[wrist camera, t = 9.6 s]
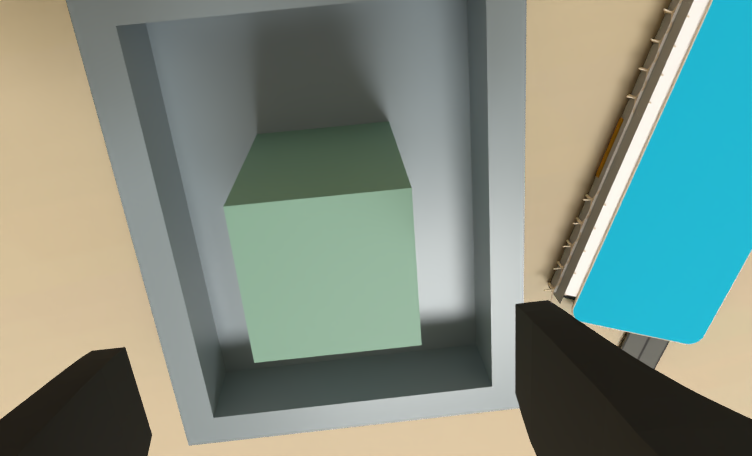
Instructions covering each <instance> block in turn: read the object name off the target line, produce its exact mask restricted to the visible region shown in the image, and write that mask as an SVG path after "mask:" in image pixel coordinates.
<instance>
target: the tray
mask: <svg viewBox="0 0 752 456" xmlns="http://www.w3.org/2000/svg"><path fill="white" fill-rule="evenodd" d="M66 3H67V6H68V10H69V14H70V17H71V21H72V24H73V28H74V32H75V35H76V39H77V42H78V46H79V50H80V53H81V57H82V61H83V64H84V68H85V71H86V75H87V79H88V82H89V86H90V89H91V93H92V97H93V100H94V104H95V108H96V111H97V115H98V118H99V122H100V126H101V129H102V133H103V137H104V140H105V144H106V147H107V151H108V155H109V158H110V162H111V165H112V169H113V173H114V176H115V180H116V184H117V187H118V191H119V194H120V198H121V202H122V205H123V209H124V213H125V216H126V220H127V223H128V227H129V231H130V234H131V238H132V241H133V245H134V249H135V252H136V256H137V260H138V263H139V267H140V270H141V274H142V278H143V281H144V285H145V288H146V292H147V296H148V299H149V303H150V307H151V310H152V314H153V317H154V321H155V325H156V328H157V332H158V336H159V339H160V343H161V346H162V350H163V354H164V357H165V361H166V364H167V368H168V372H169V375H170V379H171V383H172V386H173V390H174V393H175V397H176V401H177V404H178V408H179V412H180V415H181V419H182V422H183V426H184V430H185V433H186V437H187V440H188V444H189V445H198V444H207V443H216V442H225V441H234V440H242V439H251V438H260V437H269V436H278V435H287V434H295V433H304V432H313V431H322V430H331V429H340V428H348V427H357V426H366V425H375V424H384V423H393V422H401V421H410V420H419V419H428V418H437V417H446V416H454V415H463V414H472V413H481V412H490V411H499V410H507V409H516V408H520V407H519V404H518V401H517V397H516V394H515V304H519V303H524V205H525V101H526V0H66ZM387 121H389V123H390V126H391V129H392V132H393V135H394V138H395V140H396V143H397V146H398V149H399V152H400V155H401V158H402V161H403V164H404V167H405V170H406V173H407V176H408V178H409V181H410V184H411V187H412V200H413V216H414V232H415V248H416V264H417V280H418V295H419V311H420V327H421V343H422V345H419V346H409V347H400V348H391V349H381V350H372V351H362V352H353V353H343V354H334V355H324V356H315V357H305V358H296V359H286V360H277V361H267V362H258V363H254V359H253V354H252V349H251V344H250V339H249V334H248V329H247V324H246V319H245V314H244V309H243V304H242V299H241V294H240V289H239V283H238V278H237V273H236V268H235V263H234V258H233V253H232V248H231V243H230V238H229V233H228V228H227V223H226V218H225V213H224V208H223V206H224V204H225V202H226V200H227V198H228V195H229V193H230V191H231V189H232V187H233V185H234V182H235V180H236V178H237V176H238V174H239V172H240V170H241V167H242V165H243V163H244V161H245V159H246V157H247V155H248V152H249V150H250V148H251V146H252V144H253V142H254V139H255V137H256V135H257V134H263V133H274V132H284V131H294V130H305V129H315V128H325V127H336V126H346V125H356V124H367V123H377V122H387Z"/></svg>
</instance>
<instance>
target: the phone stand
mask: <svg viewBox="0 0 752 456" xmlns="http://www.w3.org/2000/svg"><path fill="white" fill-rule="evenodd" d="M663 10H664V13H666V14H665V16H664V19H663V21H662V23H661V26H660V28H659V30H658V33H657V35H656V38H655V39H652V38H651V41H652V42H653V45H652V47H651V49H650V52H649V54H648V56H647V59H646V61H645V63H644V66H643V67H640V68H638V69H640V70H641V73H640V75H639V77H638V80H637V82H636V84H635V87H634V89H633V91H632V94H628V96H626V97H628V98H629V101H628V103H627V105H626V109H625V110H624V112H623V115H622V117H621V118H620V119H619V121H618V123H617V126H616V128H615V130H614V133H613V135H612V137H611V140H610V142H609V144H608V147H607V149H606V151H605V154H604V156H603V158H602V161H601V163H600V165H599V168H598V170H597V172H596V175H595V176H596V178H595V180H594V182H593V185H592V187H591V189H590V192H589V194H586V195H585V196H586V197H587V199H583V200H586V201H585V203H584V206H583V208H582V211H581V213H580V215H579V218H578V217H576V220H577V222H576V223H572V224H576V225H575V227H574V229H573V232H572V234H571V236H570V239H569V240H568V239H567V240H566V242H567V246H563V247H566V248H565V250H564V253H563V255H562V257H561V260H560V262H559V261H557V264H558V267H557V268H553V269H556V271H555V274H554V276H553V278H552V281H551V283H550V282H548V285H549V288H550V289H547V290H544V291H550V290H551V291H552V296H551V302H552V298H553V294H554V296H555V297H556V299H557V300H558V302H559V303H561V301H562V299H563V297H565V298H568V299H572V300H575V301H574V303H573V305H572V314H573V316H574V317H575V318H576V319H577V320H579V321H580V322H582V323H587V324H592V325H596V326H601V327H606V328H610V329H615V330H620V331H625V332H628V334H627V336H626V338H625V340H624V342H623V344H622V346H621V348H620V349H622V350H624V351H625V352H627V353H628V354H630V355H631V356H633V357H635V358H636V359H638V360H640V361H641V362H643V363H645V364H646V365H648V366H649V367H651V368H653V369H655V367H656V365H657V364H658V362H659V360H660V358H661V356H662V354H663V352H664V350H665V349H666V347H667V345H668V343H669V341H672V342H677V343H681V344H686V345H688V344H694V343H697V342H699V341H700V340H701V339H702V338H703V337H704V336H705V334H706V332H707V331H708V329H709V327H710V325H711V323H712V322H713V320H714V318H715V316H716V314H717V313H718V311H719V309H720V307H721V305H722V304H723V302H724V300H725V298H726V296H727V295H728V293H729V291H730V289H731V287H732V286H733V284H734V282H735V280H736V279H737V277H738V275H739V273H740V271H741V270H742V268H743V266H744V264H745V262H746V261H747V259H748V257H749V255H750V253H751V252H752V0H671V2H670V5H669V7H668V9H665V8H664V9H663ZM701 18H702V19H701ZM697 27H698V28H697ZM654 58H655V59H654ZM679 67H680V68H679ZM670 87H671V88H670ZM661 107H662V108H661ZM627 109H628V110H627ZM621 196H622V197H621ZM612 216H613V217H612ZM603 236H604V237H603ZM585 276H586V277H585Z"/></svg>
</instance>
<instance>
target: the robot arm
mask: <svg viewBox="0 0 752 456" xmlns="http://www.w3.org/2000/svg"><path fill="white" fill-rule="evenodd" d="M515 394H516V397H517V401H518V404H519V407H520V410H521V414H522V417H523V420H524V423H525V426H526V429H527V433H528V436H529V439H530V442H531V444H532V446H533V448H534V451H535V453H536V455H537V456H752V419H750V418H748V417H746V416H743V415H741V414H739V413H737V412H735V411H733V410H731V409H729V408H727V407H725V406H722V405H720V404H718V403H716V402H714V401H712V400H710V399H708V398H706V397H704V396H702V395H700V394H698V393H696V392H694V391H692V390H690V389H688V388H686V387H685V386H683V385H681V384H679V383H677V382H676V381H674V380H672V379H670V378H669V377H667V376H665V375H663V374H662V373H660V372H658V371H656V370H655V369H653V368H651V367H649V366H648V365H646V364H645V363H643V362H641V361H640V360H638V359H636V358H635V357H633V356H631V355H630V354H628V353H627V352H625V351H624V350H622V349H620V348H619V347H617V346H616V345H614V344H613V343H611V342H610V341H608V340H607V339H605V338H604V337H602V336H601V335H599V334H598V333H596V332H595V331H593V330H592V329H590V328H589V327H587V326H586V325H585V324H583V323H582V322H580V321H579V320H577V319H576V318H574V317H573V316H571V315H570V314H568V313H567V312H566V311H564V310H563V309H561V308H560V307H558V306H557V305H555V304H553V303H552V302H550V301H548V300H546V301H537V302H528V303H519V304H515ZM151 437H152V433H151V430H150V427H149V423H148V420H147V417H146V413H145V410H144V407H143V404H142V400H141V397H140V394H139V391H138V387H137V384H136V381H135V378H134V374H133V371H132V368H131V365H130V361H129V358H128V355H127V352H126V348H125V347H123V348H114V349H105V350H96V351H91V352H89V353H88V354H86V355H85V356H83V357H82V358H80V359H79V360H77V361H76V362H75V363H73V364H72V365H71V366H69V367H68V368H66V369H65V370H64V371H63V372H61V373H60V374H59V375H57V376H56V377H55V378H53V379H52V380H51V381H49V382H48V383H47V384H46V385H44V386H43V387H42V388H41V389H39V390H38V391H37V392H35V393H34V394H33V395H31V396H30V397H29V398H28V399H26V400H25V401H24V402H22V403H21V404H20V405H19V406H17V407H16V408H15V409H13V410H12V411H11V412H9V413H8V414H7V415H6V416H4V417H3V418H2V419H0V456H147V455H148V451H149V446H150V442H151Z"/></svg>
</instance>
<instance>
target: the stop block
mask: <svg viewBox="0 0 752 456" xmlns="http://www.w3.org/2000/svg"><path fill="white" fill-rule="evenodd" d="M223 208H224V213H225V218H226V223H227V228H228V233H229V238H230V243H231V248H232V253H233V258H234V263H235V268H236V273H237V278H238V283H239V289H240V294H241V299H242V304H243V309H244V314H245V319H246V324H247V329H248V334H249V339H250V344H251V349H252V354H253V359H254V363H258V362H267V361H277V360H286V359H296V358H305V357H315V356H324V355H334V354H343V353H353V352H362V351H372V350H381V349H391V348H400V347H409V346H419V345H422V343H421V327H420V311H419V295H418V280H417V264H416V248H415V232H414V216H413V200H412V187H411V184H410V181H409V178H408V176H407V173H406V170H405V167H404V164H403V161H402V158H401V155H400V152H399V149H398V146H397V143H396V140H395V138H394V135H393V132H392V129H391V126H390V123H389V121H387V122H377V123H367V124H356V125H346V126H336V127H325V128H315V129H305V130H294V131H284V132H274V133H263V134H257V135H256V137H255V139H254V142H253V144H252V146H251V148H250V150H249V152H248V155H247V157H246V159H245V161H244V163H243V165H242V167H241V170H240V172H239V174H238V176H237V178H236V180H235V182H234V185H233V187H232V189H231V191H230V193H229V195H228V198H227V200H226V202H225V204H224V206H223Z"/></svg>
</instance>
